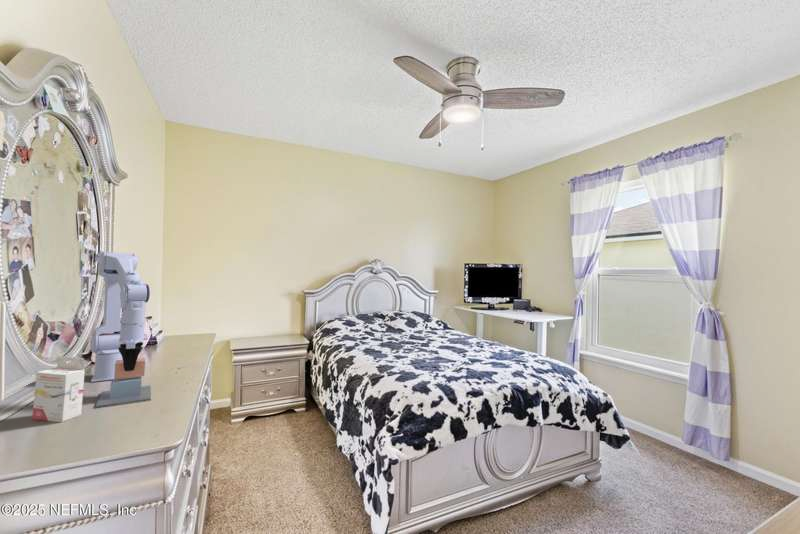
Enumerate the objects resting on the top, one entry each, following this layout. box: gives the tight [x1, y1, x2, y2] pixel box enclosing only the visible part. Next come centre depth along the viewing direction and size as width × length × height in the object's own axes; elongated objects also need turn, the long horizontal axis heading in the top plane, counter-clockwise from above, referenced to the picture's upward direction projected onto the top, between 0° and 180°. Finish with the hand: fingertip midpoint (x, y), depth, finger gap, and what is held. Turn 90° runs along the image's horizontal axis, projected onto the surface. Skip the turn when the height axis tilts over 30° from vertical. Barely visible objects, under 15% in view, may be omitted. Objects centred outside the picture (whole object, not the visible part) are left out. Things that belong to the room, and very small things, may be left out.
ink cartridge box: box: [31, 355, 86, 423], centre depth 85 cm, size 9×5×15 cm, turn 84°
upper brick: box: [114, 357, 146, 379], centre depth 102 cm, size 4×7×4 cm, turn 127°
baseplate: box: [95, 385, 152, 409], centre depth 101 cm, size 14×12×1 cm
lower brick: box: [109, 376, 143, 399], centre depth 101 cm, size 4×7×4 cm, turn 127°
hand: (129, 368), depth 102 cm, fingers closed on upper brick, 4 cm apart
